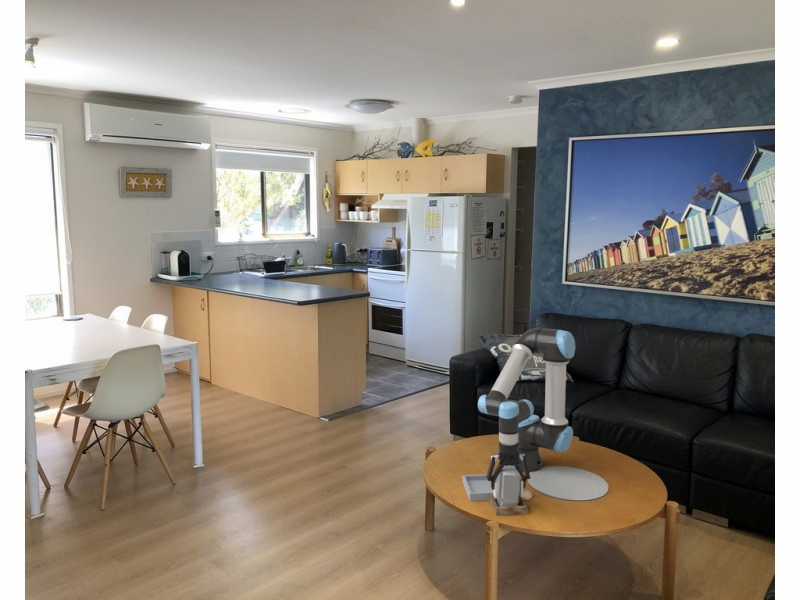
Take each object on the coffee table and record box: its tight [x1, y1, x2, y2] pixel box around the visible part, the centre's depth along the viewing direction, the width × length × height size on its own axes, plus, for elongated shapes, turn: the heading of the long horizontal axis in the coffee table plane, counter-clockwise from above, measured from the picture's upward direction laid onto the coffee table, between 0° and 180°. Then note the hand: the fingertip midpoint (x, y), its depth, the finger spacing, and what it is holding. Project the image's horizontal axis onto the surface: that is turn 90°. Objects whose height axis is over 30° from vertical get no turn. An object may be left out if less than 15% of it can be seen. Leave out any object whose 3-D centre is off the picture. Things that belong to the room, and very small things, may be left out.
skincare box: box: [496, 465, 521, 507], centre depth 240 cm, size 8×7×16 cm
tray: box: [461, 473, 499, 502], centre depth 256 cm, size 16×18×3 cm
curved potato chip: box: [522, 488, 534, 501], centre depth 251 cm, size 9×9×1 cm
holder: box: [489, 494, 528, 516], centre depth 241 cm, size 12×12×3 cm
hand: (508, 496), depth 240 cm, fingers open, 10 cm apart
